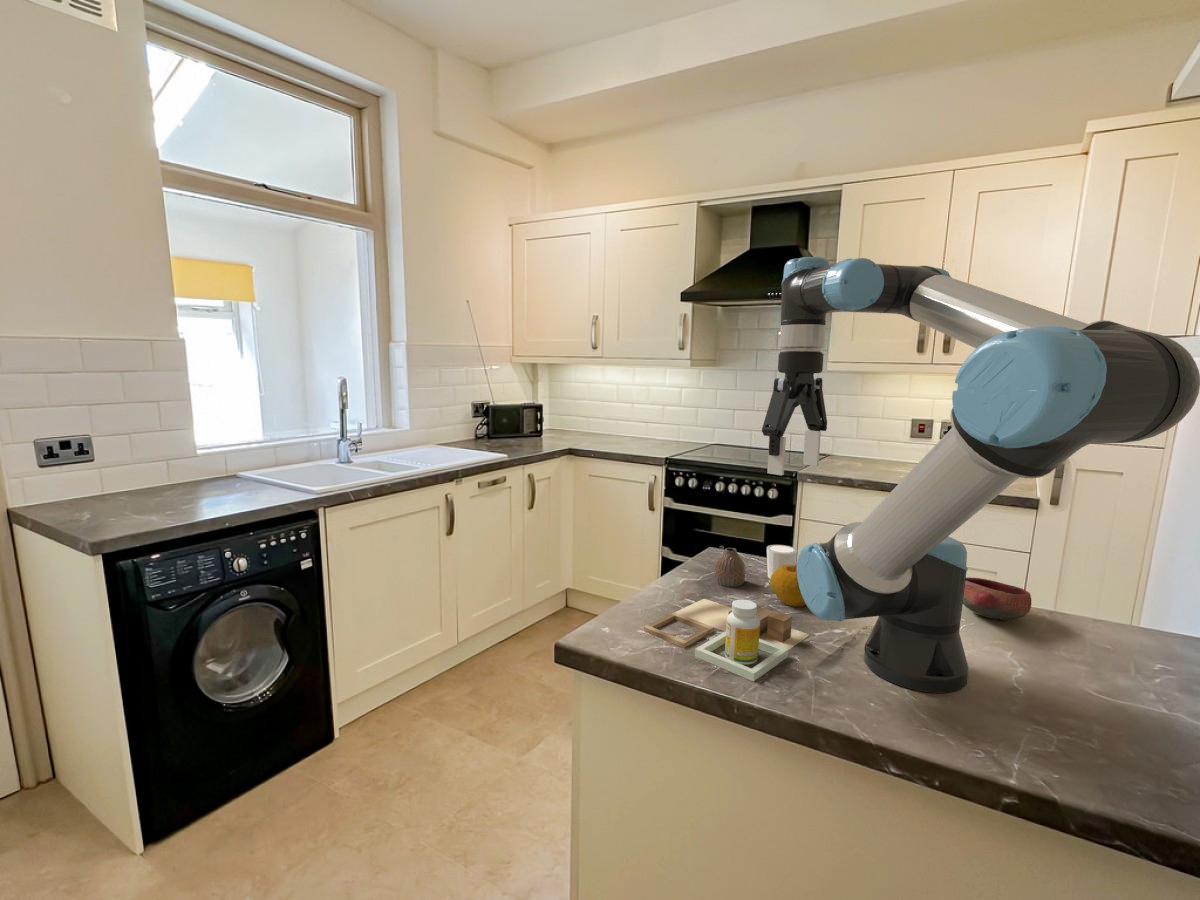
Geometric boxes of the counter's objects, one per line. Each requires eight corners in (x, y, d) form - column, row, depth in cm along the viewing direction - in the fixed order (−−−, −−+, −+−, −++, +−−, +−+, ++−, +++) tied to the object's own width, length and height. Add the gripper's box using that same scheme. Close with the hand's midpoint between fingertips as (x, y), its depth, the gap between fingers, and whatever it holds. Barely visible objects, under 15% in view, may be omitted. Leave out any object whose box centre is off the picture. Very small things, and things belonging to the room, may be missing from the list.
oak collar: (713, 637, 108) (713, 627, 107) (683, 654, 101) (683, 643, 101) (673, 622, 114) (674, 612, 114) (643, 637, 107) (643, 626, 107)
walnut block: (773, 627, 109) (774, 611, 109) (756, 637, 105) (757, 621, 105) (744, 617, 114) (745, 602, 113) (727, 626, 109) (728, 611, 109)
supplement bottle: (718, 657, 99) (720, 602, 97) (738, 647, 102) (741, 595, 101) (744, 670, 95) (747, 613, 93) (764, 660, 98) (767, 605, 97)
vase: (726, 579, 137) (728, 542, 136) (751, 588, 132) (753, 550, 130) (707, 586, 133) (708, 548, 131) (731, 595, 127) (733, 556, 126)
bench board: (809, 641, 107) (811, 613, 106) (783, 660, 100) (784, 631, 99) (703, 603, 123) (704, 580, 122) (674, 618, 116) (675, 592, 115)
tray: (787, 663, 99) (788, 649, 98) (753, 688, 91) (754, 673, 90) (730, 641, 106) (730, 628, 106) (694, 662, 98) (695, 648, 98)
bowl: (945, 600, 126) (948, 565, 125) (1013, 607, 123) (1018, 571, 121) (971, 633, 110) (975, 593, 109) (1050, 642, 107) (1055, 601, 106)
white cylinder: (775, 570, 143) (777, 542, 142) (801, 578, 138) (803, 549, 137) (759, 576, 139) (760, 547, 138) (784, 585, 134) (786, 555, 133)
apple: (760, 605, 122) (762, 564, 121) (783, 594, 128) (785, 555, 127) (801, 620, 115) (803, 576, 114) (823, 607, 121) (825, 565, 120)
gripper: (812, 352, 115) (805, 459, 118) (744, 349, 97) (738, 475, 100) (851, 351, 110) (842, 464, 113) (787, 348, 92) (779, 481, 95)
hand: (793, 469), depth 107 cm, fingers open, 13 cm apart
